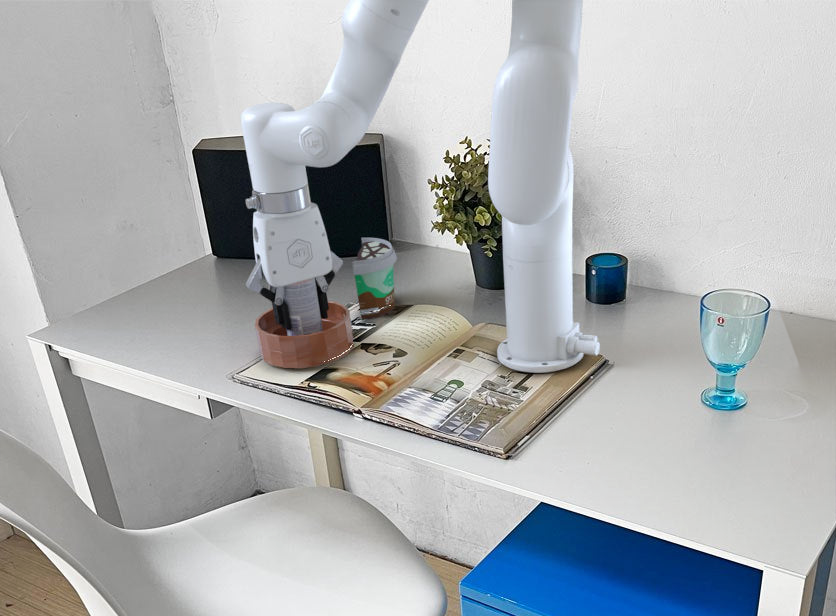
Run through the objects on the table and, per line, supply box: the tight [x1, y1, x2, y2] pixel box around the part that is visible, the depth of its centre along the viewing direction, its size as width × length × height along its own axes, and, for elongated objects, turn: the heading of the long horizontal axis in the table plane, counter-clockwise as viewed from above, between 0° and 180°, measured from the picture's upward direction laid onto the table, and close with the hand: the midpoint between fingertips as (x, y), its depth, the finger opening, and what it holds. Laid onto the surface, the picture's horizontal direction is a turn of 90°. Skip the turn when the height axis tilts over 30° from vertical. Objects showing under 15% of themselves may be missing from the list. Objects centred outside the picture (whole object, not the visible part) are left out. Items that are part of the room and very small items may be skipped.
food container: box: [352, 237, 398, 320], centre depth 160 cm, size 12×6×10 cm, turn 179°
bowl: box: [254, 300, 355, 369], centre depth 148 cm, size 14×14×6 cm
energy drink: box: [283, 278, 323, 336], centre depth 145 cm, size 5×5×12 cm
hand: (303, 320), depth 146 cm, fingers closed on energy drink, 5 cm apart
